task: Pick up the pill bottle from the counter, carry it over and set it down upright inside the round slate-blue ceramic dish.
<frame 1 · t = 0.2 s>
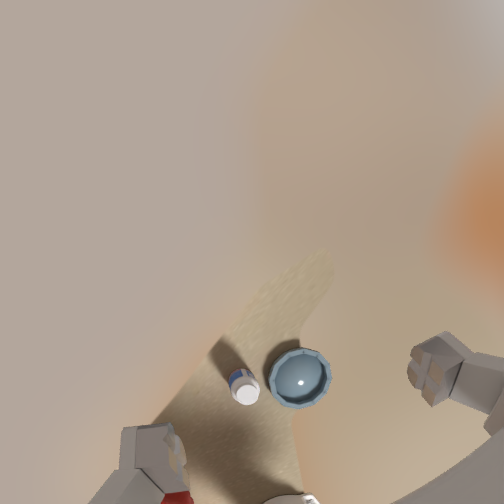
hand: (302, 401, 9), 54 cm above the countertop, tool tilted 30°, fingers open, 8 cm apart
dish: (298, 377, 61), on the countertop
pill bottle: (241, 380, 60), on the countertop
vegetable: (173, 493, 54), on the countertop
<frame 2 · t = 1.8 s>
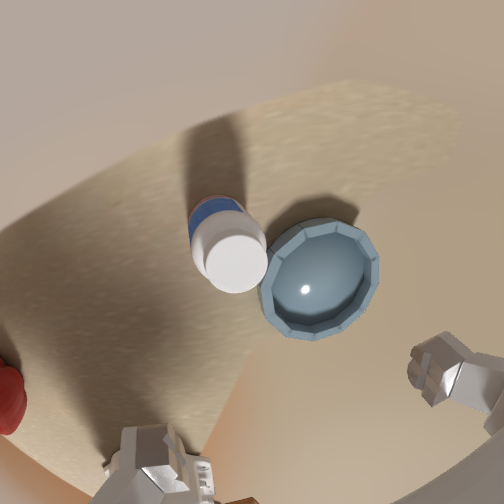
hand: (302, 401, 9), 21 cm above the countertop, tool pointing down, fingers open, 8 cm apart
dish: (316, 277, 32), on the countertop
pill bottle: (217, 222, 28), on the countertop
vegetable: (2, 370, 28), on the countertop
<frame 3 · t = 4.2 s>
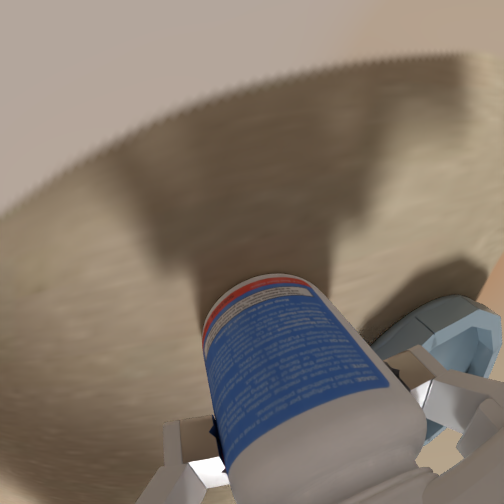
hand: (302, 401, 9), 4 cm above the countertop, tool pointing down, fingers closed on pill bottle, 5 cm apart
dish: (414, 383, 17), on the countertop
pill bottle: (266, 327, 13), on the countertop, touching gripper
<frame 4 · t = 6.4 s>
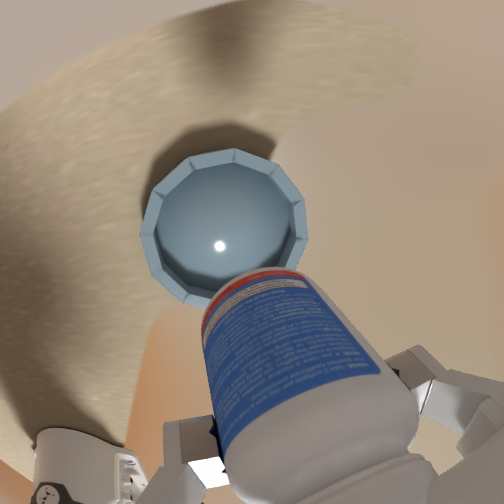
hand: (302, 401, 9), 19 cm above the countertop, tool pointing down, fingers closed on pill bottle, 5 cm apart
dish: (223, 228, 26), on the countertop
pill bottle: (264, 320, 13), point 14 cm above the countertop, touching gripper
when the fingers open (6 cm above the countertop, at t = 8.8 s): pill bottle stays where it is, resting on dish.
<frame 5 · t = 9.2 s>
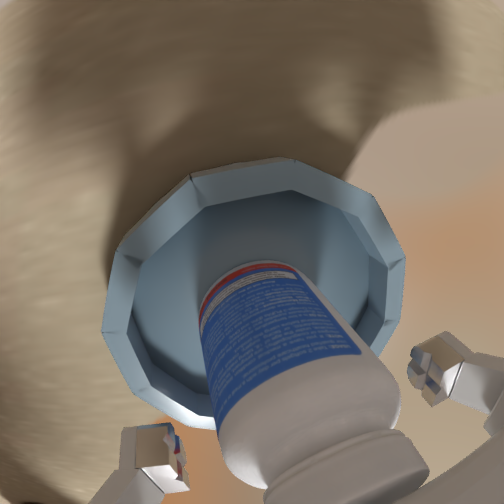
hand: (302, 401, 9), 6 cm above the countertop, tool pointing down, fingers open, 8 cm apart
dish: (258, 305, 14), on the countertop
pill bottle: (257, 311, 14), resting on dish
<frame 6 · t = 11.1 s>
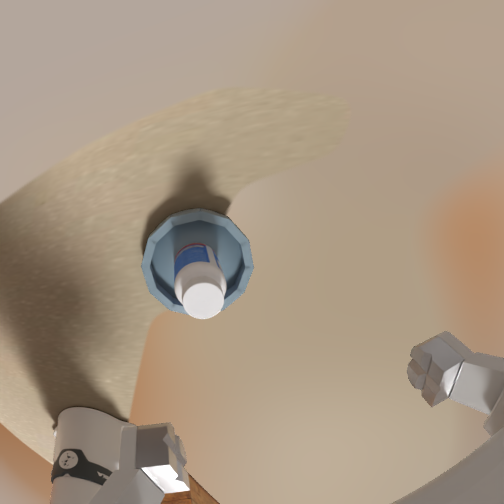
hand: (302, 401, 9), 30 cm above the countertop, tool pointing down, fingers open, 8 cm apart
dish: (196, 260, 38), on the countertop
pill bottle: (196, 262, 38), resting on dish
wooden box: (181, 497, 58), on the countertop
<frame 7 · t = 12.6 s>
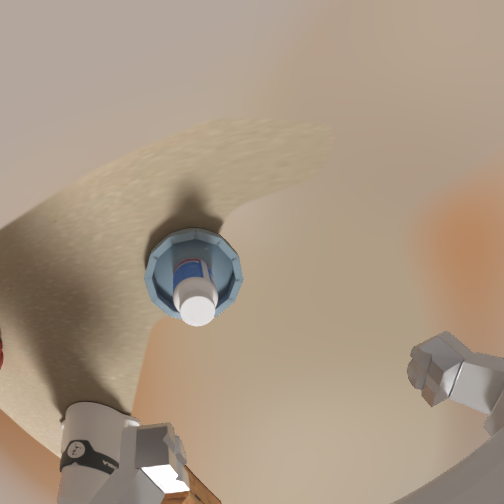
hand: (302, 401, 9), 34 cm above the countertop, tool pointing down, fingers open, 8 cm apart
dish: (193, 272, 43), on the countertop
pill bottle: (192, 274, 43), resting on dish
wooden box: (177, 487, 64), on the countertop
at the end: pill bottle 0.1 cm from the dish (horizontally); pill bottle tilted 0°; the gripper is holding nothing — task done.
